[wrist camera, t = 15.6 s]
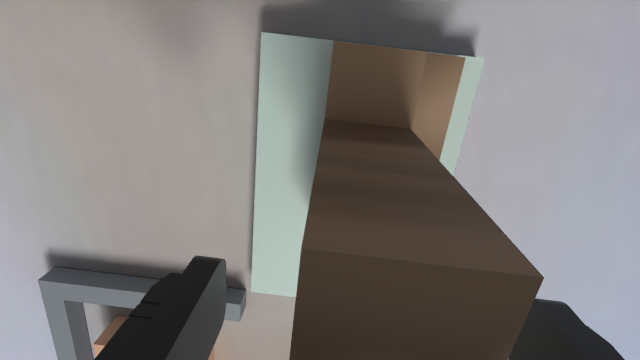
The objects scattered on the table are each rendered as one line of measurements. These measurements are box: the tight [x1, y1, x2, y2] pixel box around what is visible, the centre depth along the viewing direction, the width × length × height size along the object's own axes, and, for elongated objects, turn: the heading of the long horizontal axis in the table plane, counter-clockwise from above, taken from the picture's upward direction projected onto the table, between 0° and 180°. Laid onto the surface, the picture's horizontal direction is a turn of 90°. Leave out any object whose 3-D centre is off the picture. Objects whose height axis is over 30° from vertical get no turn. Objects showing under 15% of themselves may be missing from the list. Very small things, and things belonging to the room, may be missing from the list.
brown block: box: [289, 41, 544, 360], centre depth 10 cm, size 8×5×11 cm, turn 174°
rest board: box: [251, 32, 485, 297], centre depth 16 cm, size 13×9×1 cm
